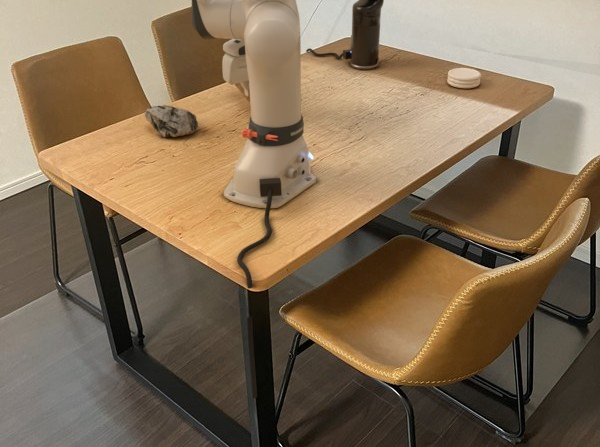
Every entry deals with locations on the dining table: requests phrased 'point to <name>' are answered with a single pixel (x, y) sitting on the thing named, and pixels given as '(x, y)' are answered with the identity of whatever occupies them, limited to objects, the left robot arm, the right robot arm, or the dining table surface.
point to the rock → (171, 120)
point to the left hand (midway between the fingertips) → (260, 92)
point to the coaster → (464, 78)
